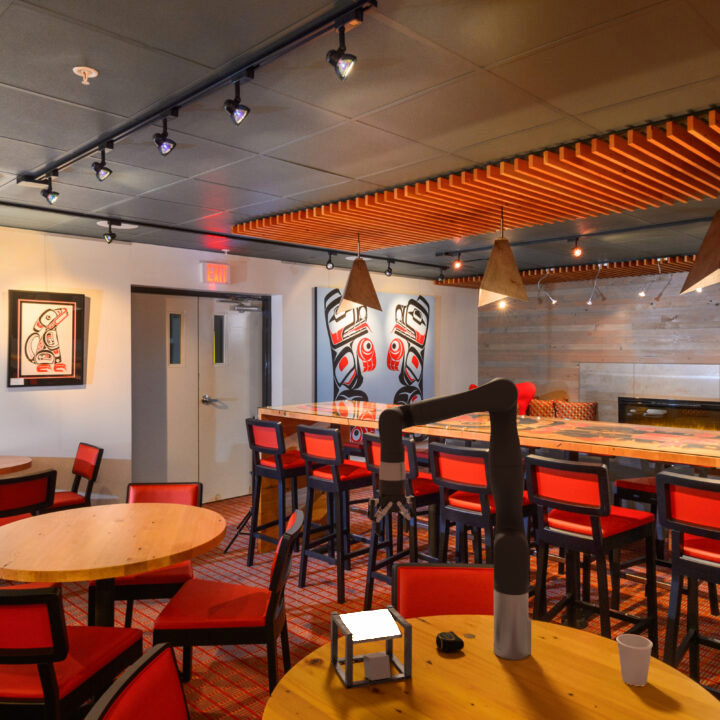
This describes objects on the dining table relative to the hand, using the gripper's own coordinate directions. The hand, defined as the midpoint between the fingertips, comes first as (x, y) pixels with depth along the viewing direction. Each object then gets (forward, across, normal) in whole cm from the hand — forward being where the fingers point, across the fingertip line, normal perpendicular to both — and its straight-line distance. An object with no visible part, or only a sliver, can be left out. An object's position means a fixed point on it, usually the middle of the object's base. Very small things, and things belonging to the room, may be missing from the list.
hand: (392, 533), depth 181 cm
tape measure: (+30, -14, +10) cm, 35 cm away
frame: (+30, +12, +16) cm, 36 cm away
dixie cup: (+30, -49, +41) cm, 71 cm away
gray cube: (+28, +12, +18) cm, 35 cm away
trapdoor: (+19, +12, +15) cm, 27 cm away
